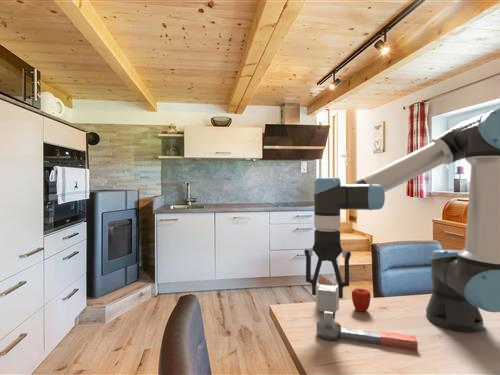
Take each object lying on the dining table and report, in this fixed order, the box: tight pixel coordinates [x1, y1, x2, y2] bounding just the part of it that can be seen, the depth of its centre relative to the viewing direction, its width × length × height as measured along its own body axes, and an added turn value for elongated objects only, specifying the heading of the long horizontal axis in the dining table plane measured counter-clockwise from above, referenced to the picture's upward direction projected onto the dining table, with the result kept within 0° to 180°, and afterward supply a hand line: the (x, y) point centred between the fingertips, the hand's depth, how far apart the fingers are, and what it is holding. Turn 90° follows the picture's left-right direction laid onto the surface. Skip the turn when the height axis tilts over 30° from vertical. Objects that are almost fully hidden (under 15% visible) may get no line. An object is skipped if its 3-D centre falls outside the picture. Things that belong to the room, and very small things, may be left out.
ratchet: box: [316, 311, 419, 352], centre depth 82 cm, size 26×7×6 cm, turn 71°
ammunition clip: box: [317, 273, 336, 318], centre depth 102 cm, size 11×2×12 cm, turn 10°
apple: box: [351, 288, 371, 312], centre depth 101 cm, size 6×6×8 cm
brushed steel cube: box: [317, 284, 337, 314], centre depth 85 cm, size 5×5×6 cm
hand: (327, 307), depth 85 cm, fingers closed on brushed steel cube, 5 cm apart
